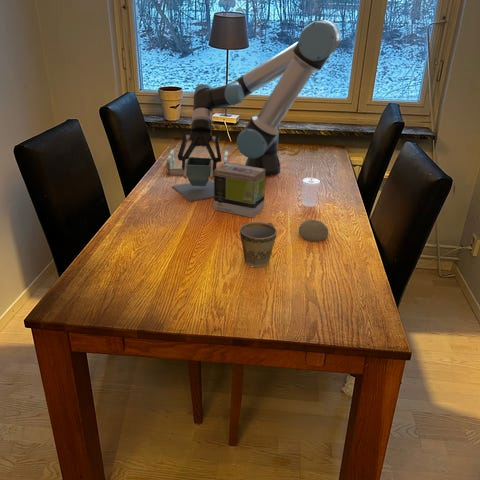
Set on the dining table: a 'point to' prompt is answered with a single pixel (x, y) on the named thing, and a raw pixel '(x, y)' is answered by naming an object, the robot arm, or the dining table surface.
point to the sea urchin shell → (313, 230)
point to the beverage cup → (310, 190)
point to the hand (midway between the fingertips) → (198, 177)
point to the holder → (180, 171)
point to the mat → (196, 191)
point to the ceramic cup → (257, 242)
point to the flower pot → (198, 170)
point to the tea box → (239, 189)
